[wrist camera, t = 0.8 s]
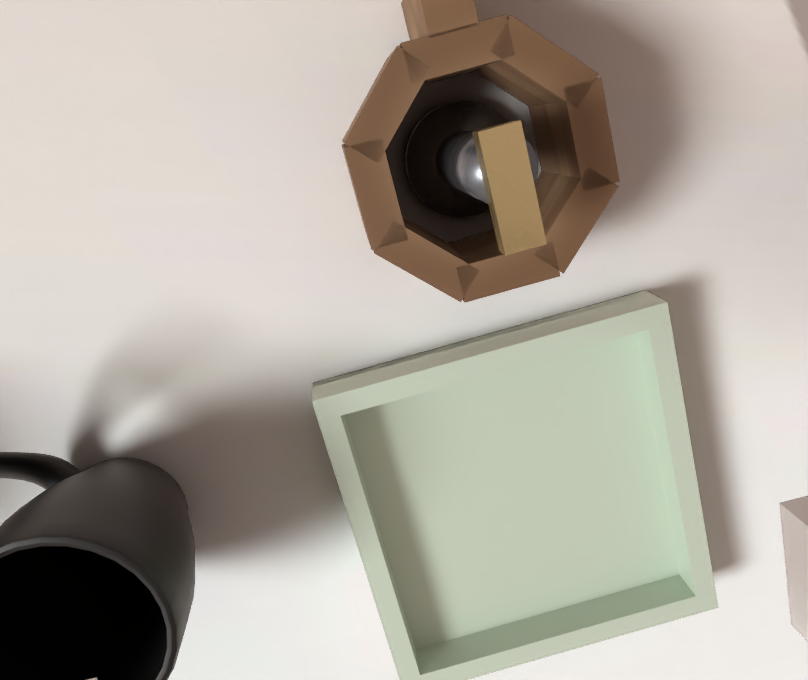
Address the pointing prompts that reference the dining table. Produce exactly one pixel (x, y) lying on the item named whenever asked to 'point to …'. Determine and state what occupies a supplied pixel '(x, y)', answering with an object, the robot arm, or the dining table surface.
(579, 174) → the ring
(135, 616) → the mug
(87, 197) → the dining table surface
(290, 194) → the dining table surface
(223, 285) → the dining table surface
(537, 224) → the door handle
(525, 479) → the tray
